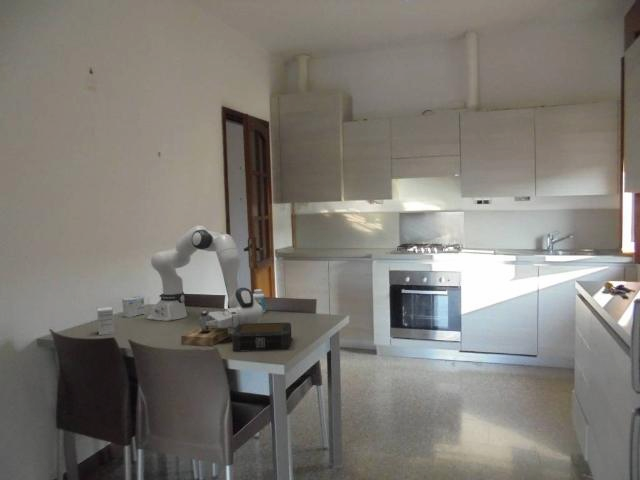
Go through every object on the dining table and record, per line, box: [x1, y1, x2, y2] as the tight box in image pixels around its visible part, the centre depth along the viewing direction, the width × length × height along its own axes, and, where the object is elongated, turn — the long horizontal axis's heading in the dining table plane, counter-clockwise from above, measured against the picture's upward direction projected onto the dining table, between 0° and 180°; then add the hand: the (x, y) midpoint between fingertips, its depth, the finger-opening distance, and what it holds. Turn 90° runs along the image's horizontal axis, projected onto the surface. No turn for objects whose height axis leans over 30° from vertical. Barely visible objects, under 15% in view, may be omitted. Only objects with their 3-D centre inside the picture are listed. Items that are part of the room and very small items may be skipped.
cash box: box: [231, 321, 292, 352], centre depth 223 cm, size 25×20×8 cm
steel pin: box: [199, 309, 210, 334], centre depth 232 cm, size 4×4×14 cm
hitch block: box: [180, 326, 229, 347], centre depth 232 cm, size 16×16×4 cm
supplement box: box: [96, 306, 115, 336], centre depth 252 cm, size 7×7×13 cm
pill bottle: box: [252, 288, 266, 314], centre depth 287 cm, size 8×7×14 cm
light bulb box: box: [121, 295, 146, 318], centre depth 289 cm, size 11×7×11 cm, turn 144°
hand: (202, 321), depth 231 cm, fingers open, 8 cm apart
